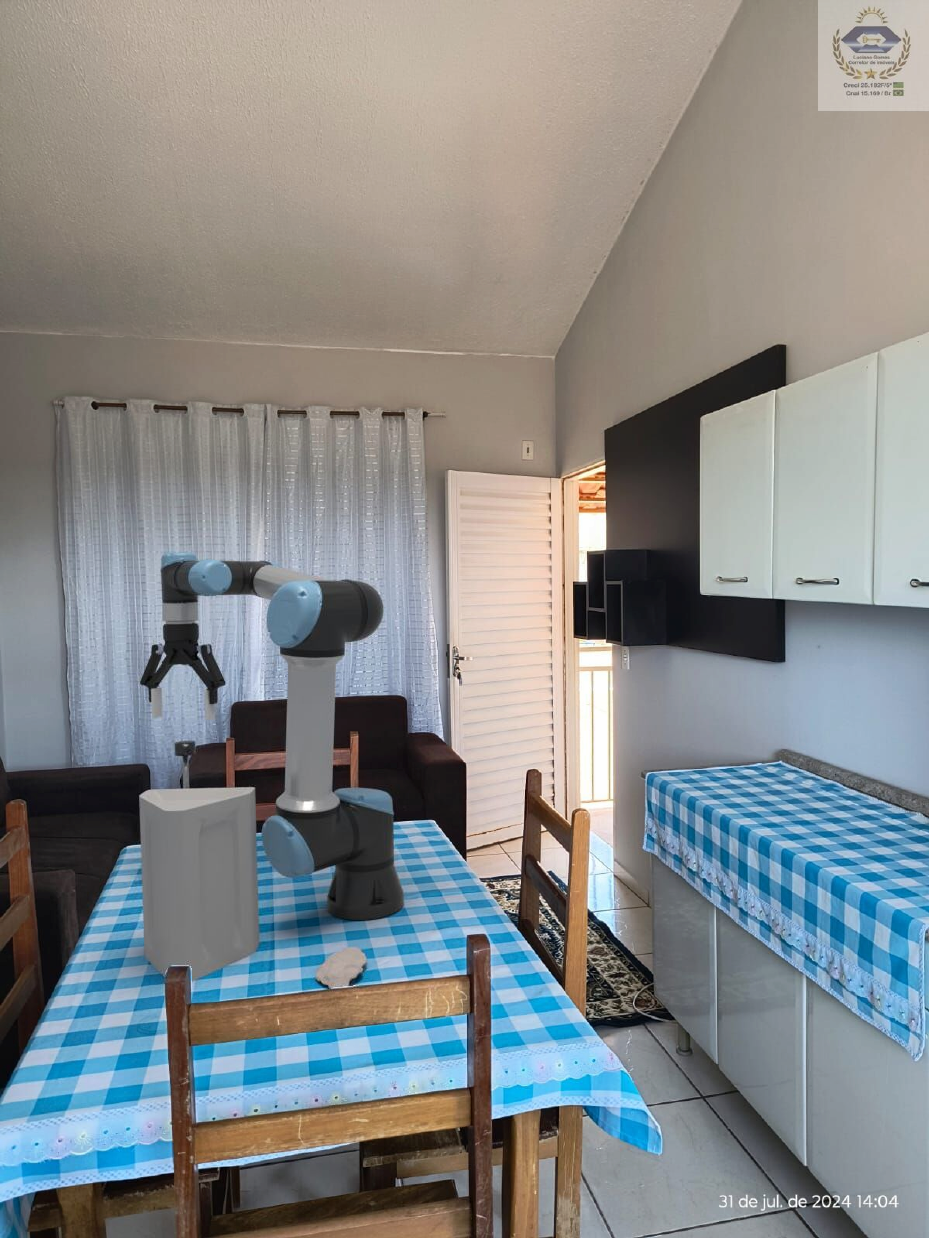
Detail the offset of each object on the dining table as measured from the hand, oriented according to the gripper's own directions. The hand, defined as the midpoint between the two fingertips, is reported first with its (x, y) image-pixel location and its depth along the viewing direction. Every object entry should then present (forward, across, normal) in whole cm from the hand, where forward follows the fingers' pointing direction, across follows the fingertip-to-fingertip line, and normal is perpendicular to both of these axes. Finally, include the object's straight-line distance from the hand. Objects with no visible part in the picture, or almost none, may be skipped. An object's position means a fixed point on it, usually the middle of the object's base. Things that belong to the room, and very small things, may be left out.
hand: (183, 718), depth 181 cm
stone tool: (+35, -54, +36) cm, 74 cm away
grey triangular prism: (+35, -28, +38) cm, 59 cm away
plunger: (+25, 0, 0) cm, 25 cm away
